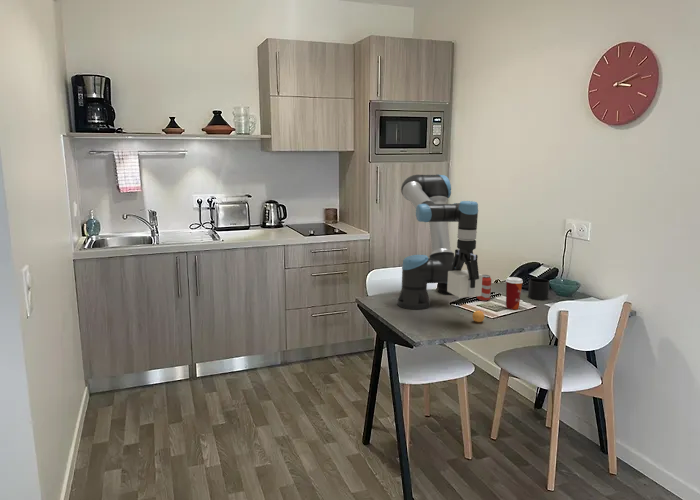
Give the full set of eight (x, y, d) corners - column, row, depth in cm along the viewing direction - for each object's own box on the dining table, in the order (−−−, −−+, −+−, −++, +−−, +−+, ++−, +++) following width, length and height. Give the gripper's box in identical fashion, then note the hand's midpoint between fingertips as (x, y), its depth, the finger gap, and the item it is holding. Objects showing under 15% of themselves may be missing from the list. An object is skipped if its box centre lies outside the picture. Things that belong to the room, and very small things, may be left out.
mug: (554, 297, 263) (556, 280, 262) (540, 301, 257) (542, 283, 255) (538, 293, 271) (539, 276, 269) (524, 297, 264) (525, 279, 262)
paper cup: (521, 310, 241) (524, 281, 238) (504, 309, 242) (506, 280, 240) (519, 306, 248) (522, 277, 246) (503, 304, 250) (505, 276, 247)
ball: (487, 314, 224) (482, 324, 225) (477, 309, 227) (472, 319, 227) (484, 313, 220) (479, 323, 220) (474, 307, 223) (469, 318, 223)
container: (457, 288, 278) (458, 270, 276) (464, 295, 266) (465, 276, 264) (434, 288, 277) (434, 270, 276) (440, 295, 265) (440, 276, 263)
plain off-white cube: (459, 297, 213) (460, 276, 211) (447, 291, 222) (448, 271, 221) (481, 295, 216) (482, 275, 214) (468, 289, 225) (469, 269, 224)
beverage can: (484, 302, 254) (486, 278, 252) (474, 299, 259) (475, 275, 257) (492, 300, 257) (494, 276, 255) (482, 297, 263) (483, 273, 260)
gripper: (490, 243, 205) (487, 298, 209) (460, 234, 227) (458, 284, 231) (473, 244, 203) (470, 299, 207) (445, 235, 224) (442, 285, 228)
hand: (463, 291), depth 219 cm, fingers closed on plain off-white cube, 10 cm apart
